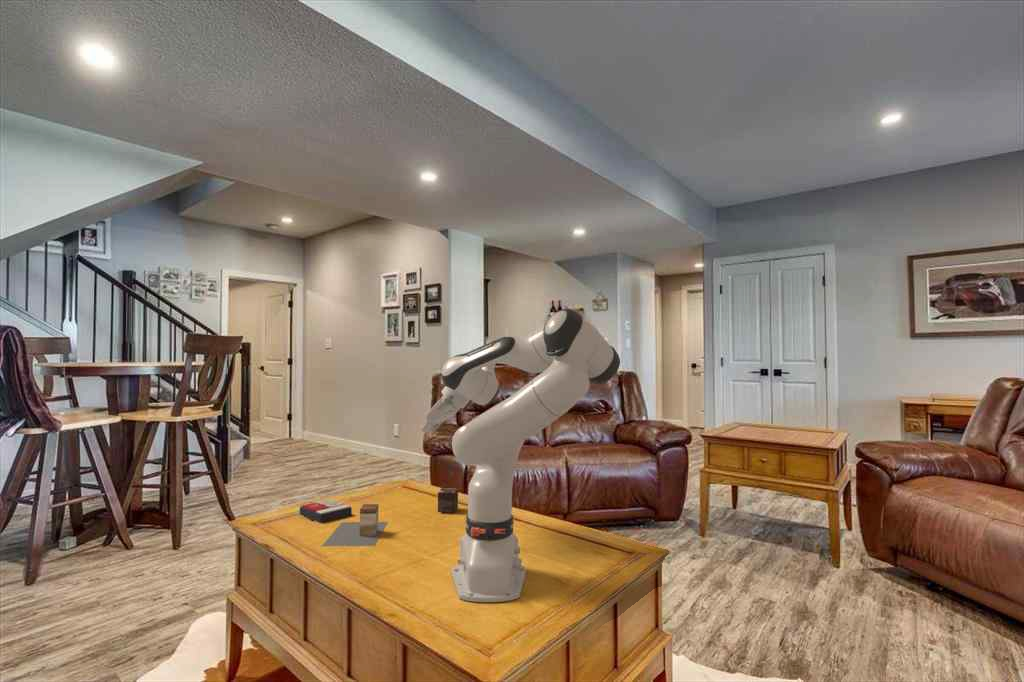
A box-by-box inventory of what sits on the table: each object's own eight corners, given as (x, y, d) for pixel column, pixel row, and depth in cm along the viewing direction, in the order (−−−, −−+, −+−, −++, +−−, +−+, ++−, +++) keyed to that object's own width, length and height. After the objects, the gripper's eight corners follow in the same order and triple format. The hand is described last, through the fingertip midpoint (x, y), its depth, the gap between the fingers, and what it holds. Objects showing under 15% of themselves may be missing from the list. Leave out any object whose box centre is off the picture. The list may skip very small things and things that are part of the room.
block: (374, 535, 151) (375, 508, 151) (359, 535, 150) (360, 508, 151) (378, 530, 155) (378, 504, 155) (363, 530, 155) (363, 504, 155)
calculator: (329, 498, 179) (352, 504, 169) (329, 510, 179) (352, 518, 169) (299, 504, 171) (320, 512, 161) (299, 517, 171) (320, 526, 161)
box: (458, 508, 180) (458, 488, 180) (454, 514, 174) (455, 492, 174) (441, 508, 180) (441, 487, 180) (437, 513, 174) (437, 491, 174)
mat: (374, 547, 143) (374, 545, 143) (321, 548, 142) (321, 545, 142) (388, 523, 163) (388, 521, 163) (341, 524, 162) (341, 522, 162)
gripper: (455, 404, 148) (426, 441, 148) (470, 400, 168) (445, 432, 169) (438, 390, 149) (410, 427, 149) (456, 388, 169) (430, 420, 170)
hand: (428, 430), depth 159 cm, fingers open, 8 cm apart
